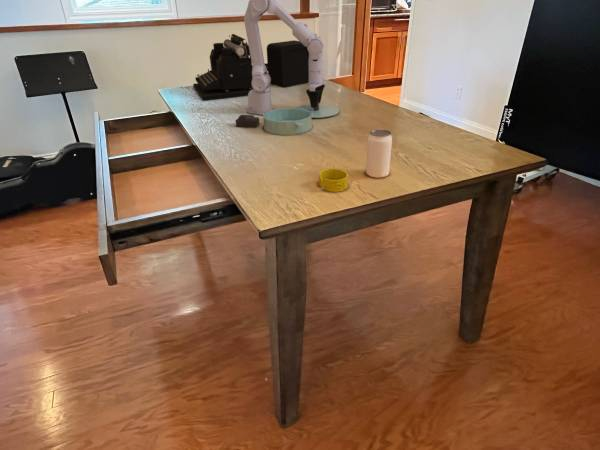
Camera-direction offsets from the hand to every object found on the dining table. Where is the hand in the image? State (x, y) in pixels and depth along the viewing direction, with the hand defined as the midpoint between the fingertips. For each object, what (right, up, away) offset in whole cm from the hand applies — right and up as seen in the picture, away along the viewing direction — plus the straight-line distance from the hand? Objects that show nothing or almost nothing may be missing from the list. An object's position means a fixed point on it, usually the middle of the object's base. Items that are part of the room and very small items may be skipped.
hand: (315, 105), depth 171 cm
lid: (0, -2, +1) cm, 3 cm away
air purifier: (-12, +27, +53) cm, 61 cm away
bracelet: (+2, -39, -59) cm, 71 cm away
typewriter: (-45, +19, +40) cm, 63 cm away
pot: (-11, -13, -15) cm, 22 cm away
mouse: (-27, -11, -11) cm, 31 cm away
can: (+15, -35, -54) cm, 66 cm away
